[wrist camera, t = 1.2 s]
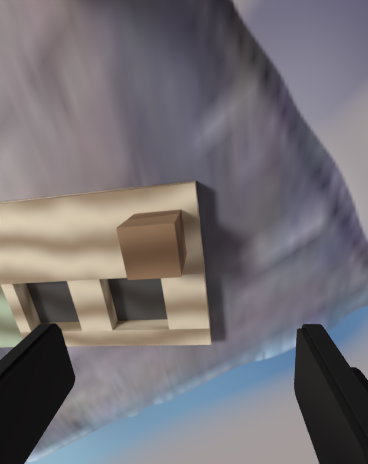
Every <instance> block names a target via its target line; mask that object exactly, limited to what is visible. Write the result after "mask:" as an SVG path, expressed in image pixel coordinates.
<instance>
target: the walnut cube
mask: <svg viewBox="0 0 368 464" xmlns="http://www.w3.org/2000/svg"><path fill="white" fill-rule="evenodd" d="M116 230H117V234H118V239H119V244H120V248H121V253H122V257H123V262H124V266H125V271H126V275H127V280H139V279H158V278H177V277H182V273H183V269H184V264H185V260H186V255H187V252H186V244H185V236H184V228H183V220H182V211H181V209H180V210H169V211H158V212H148V213H137V214H133V215H132V216H131V217H130V218H128V219H127V220H126V221H124V222H123V223H122V224H121V225H119V226H118V227H117V228H116Z"/></svg>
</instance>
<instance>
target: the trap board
mask: <svg viewBox="0 0 368 464" xmlns="http://www.w3.org/2000/svg"><path fill="white" fill-rule="evenodd" d="M180 209H181V211H182V220H183V228H184V236H185V244H186V252H187V255H186V260H185V264H184V269H183V273H182V277H177V278H158V279H139V280H127V275H126V271H125V266H124V262H123V257H122V253H121V248H120V244H119V239H118V234H117V230H116V228H117V227H118V226H119V225H121V224H122V223H123V222H124V221H126V220H127V219H128V218H130V217H131V216H132V215H133V214H137V213H148V212H158V211H169V210H180ZM42 323H56V324H57V325H58V326H59V327H60V328H61V330H62V333H63V337H64V340H65V344H66V346H147V345H211V327H210V317H209V306H208V296H207V286H206V276H205V266H204V256H203V246H202V236H201V225H200V215H199V205H198V195H197V185H196V181H189V182H180V183H171V184H162V185H152V186H143V187H134V188H125V189H116V190H107V191H98V192H88V193H79V194H70V195H61V196H52V197H43V198H34V199H25V200H15V201H6V202H0V347H15V346H16V345H17V344H18V343H20V342H21V341H22V340H23V339H24V338H25V337H26V336H27V335H28V334H29V333H30V332H32V331H33V330H34V329H35V328H36V327H37V326H38V325H40V324H42Z"/></svg>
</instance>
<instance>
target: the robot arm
mask: <svg viewBox="0 0 368 464" xmlns="http://www.w3.org/2000/svg"><path fill="white" fill-rule="evenodd" d="M74 383H75V375H74V371H73V368H72V364H71V361H70V357H69V354H68V351H67V347H66V344H65V340H64V337H63V333H62V330H61V328H60V327H59V326H58V325H57V324H56V323H42V324H40V325H38V326H37V327H36V328H35V329H34V330H33V331H32V332H30V333H29V334H28V335H27V336H26V337H25V338H24V339H23V340H22V341H21V342H20V343H18V344H17V345H16V346H15V347H14V348H13V349H12V350H11V351H10V352H9V353H8V354H6V355H5V356H4V357H3V358H2V359H1V360H0V464H24V463H25V462H26V460H27V459H28V457H29V455H30V454H31V452H32V451H33V449H34V447H35V446H36V444H37V443H38V441H39V440H40V438H41V436H42V435H43V433H44V432H45V430H46V429H47V427H48V425H49V424H50V422H51V421H52V419H53V417H54V416H55V414H56V413H57V411H58V410H59V408H60V406H61V405H62V403H63V402H64V400H65V398H66V397H67V395H68V394H69V392H70V391H71V389H72V387H73V385H74ZM294 390H295V395H296V398H297V401H298V404H299V407H300V410H301V412H302V415H303V418H304V421H305V424H306V427H307V430H308V432H309V435H310V438H311V441H312V444H313V446H314V449H315V452H316V455H317V458H318V461H319V464H368V380H367V379H366V378H365V376H364V375H363V373H362V372H361V371H360V370H359V369H357V368H354V367H350V366H349V364H348V363H347V362H346V360H345V358H344V357H343V356H342V354H341V353H340V351H339V350H338V348H337V347H336V345H335V344H334V342H333V341H332V339H331V338H330V336H329V335H328V333H327V332H326V330H325V329H324V327H323V326H322V325H320V324H303V326H302V329H297V339H296V358H295V378H294Z"/></svg>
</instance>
